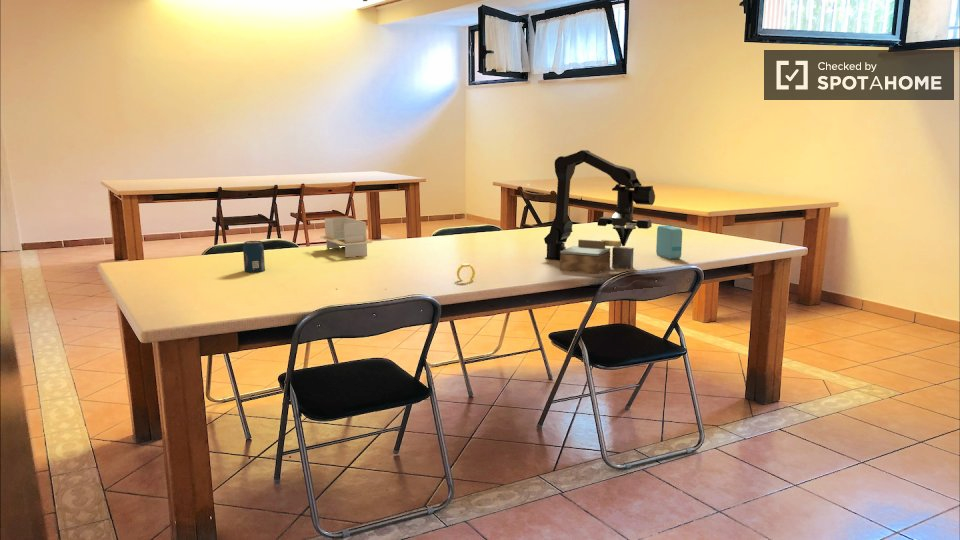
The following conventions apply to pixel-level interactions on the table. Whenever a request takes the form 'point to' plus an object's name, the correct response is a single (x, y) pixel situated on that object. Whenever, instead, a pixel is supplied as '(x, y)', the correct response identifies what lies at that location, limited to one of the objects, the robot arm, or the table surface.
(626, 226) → the robot arm
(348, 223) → the architectural model
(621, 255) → the block
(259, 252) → the soda can
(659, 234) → the data package
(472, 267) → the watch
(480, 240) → the table surface
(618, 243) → the bolt
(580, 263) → the storage box
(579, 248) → the box lid
